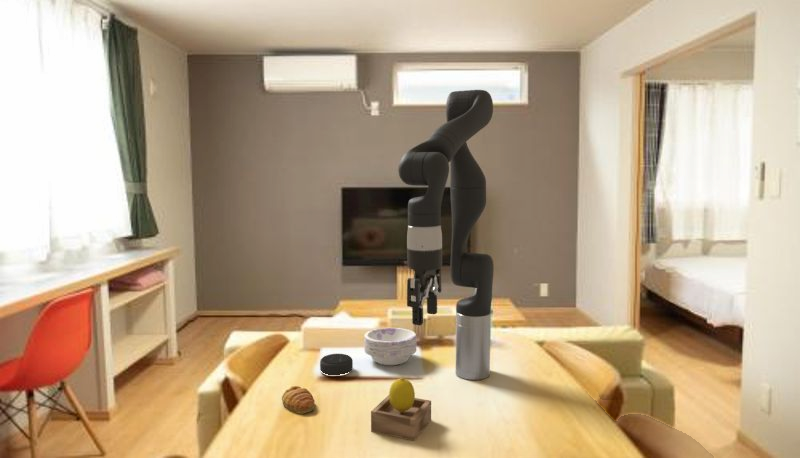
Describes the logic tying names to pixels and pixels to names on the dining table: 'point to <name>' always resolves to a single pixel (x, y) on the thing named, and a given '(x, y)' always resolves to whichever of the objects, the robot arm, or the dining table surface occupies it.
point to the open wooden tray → (401, 419)
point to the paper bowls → (390, 345)
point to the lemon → (401, 395)
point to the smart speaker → (336, 364)
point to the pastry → (298, 400)
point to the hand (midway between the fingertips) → (425, 318)
